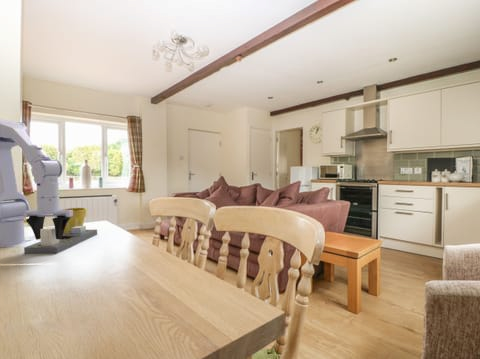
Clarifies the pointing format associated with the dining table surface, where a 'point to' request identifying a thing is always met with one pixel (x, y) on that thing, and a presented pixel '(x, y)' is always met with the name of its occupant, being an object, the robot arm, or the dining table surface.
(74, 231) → the white cube
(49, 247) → the grey slotted board
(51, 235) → the plug
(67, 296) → the dining table surface
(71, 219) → the plant pot
